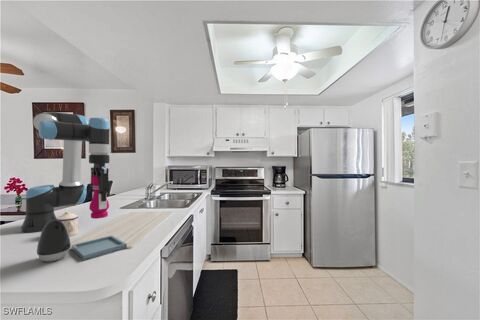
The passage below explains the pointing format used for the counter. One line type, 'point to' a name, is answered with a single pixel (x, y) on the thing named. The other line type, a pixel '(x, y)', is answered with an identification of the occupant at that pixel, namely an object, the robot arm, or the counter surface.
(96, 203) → the pepper mill
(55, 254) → the black rounded piece
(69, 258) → the counter surface
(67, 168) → the robot arm
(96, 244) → the tray
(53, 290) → the counter surface
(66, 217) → the teacup with lid
